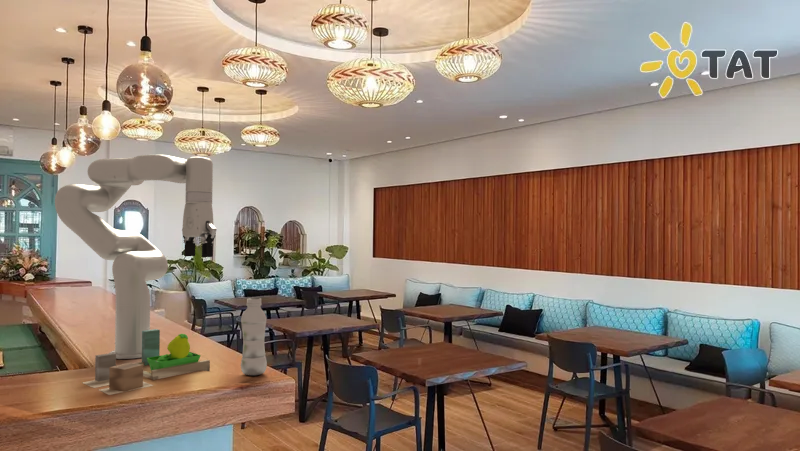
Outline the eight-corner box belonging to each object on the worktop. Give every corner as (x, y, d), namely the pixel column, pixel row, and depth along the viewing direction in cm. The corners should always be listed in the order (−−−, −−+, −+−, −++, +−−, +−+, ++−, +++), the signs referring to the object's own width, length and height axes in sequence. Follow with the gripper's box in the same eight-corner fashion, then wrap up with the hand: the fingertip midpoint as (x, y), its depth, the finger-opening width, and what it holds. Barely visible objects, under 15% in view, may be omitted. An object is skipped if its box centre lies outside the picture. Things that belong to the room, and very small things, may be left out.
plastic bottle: (260, 378, 140) (260, 300, 140) (235, 377, 141) (236, 299, 142) (270, 372, 146) (271, 297, 147) (247, 371, 148) (248, 296, 148)
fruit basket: (186, 369, 150) (187, 328, 150) (204, 374, 144) (204, 331, 144) (145, 377, 141) (145, 333, 141) (162, 383, 135) (162, 337, 136)
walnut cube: (109, 389, 126) (109, 367, 126) (128, 383, 131) (128, 362, 131) (124, 391, 124) (124, 369, 124) (143, 386, 128) (143, 364, 129)
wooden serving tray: (120, 371, 146) (121, 333, 146) (175, 361, 158) (175, 326, 158) (153, 383, 134) (153, 342, 134) (209, 371, 146) (210, 334, 146)
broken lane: (81, 387, 131) (82, 357, 132) (124, 379, 139) (124, 350, 139) (109, 400, 121) (109, 367, 122) (153, 390, 129) (153, 359, 129)
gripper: (172, 199, 165) (171, 256, 165) (202, 197, 154) (202, 257, 154) (195, 200, 171) (194, 255, 171) (226, 198, 160) (226, 257, 160)
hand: (198, 256), depth 162 cm, fingers open, 9 cm apart
